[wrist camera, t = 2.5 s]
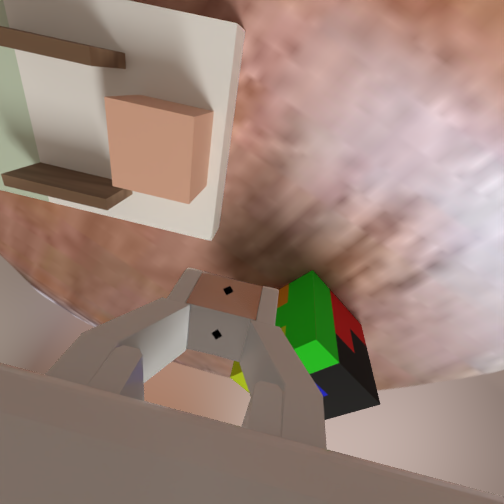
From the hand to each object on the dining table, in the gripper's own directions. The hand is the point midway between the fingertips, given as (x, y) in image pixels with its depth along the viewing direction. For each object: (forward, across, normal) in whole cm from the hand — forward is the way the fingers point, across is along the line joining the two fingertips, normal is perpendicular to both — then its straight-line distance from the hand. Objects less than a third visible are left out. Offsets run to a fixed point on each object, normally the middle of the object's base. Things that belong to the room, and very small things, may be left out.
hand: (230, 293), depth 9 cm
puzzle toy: (+20, -8, +18) cm, 27 cm away
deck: (+19, +20, 0) cm, 28 cm away
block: (+16, +8, 0) cm, 18 cm away
